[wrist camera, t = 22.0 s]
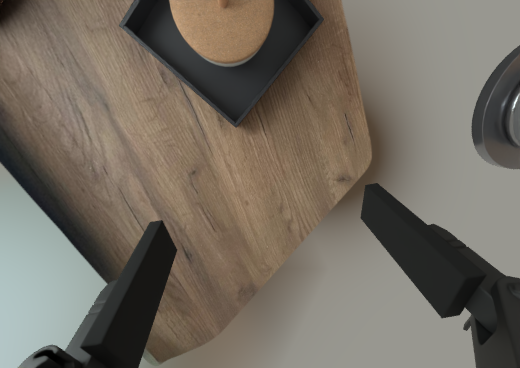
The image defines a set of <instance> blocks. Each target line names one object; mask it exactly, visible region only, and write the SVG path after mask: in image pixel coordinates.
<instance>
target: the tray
mask: <svg viewBox="0 0 520 368" xmlns="http://www.w3.org/2000/svg"><path fill="white" fill-rule="evenodd" d="M323 20H324V18H323V17H322V16H321V14H320V13H319V12H318V11H317V9H316V8H315V7H314V6H313V4H312V3H311V2H310V0H274V15H273V21H272V25H271V28H270V31H269V33H268V36H267V38H266V39H265V41H264V43H263V44H262V46H261V48H260V49H259V50H258V52H257V53H256V54H255V55H254V56H253V57H252V58H251V59H250V60H248V61H247V62H245V63H243V64H241V65H238V66H234V67H223V66H218V65H215V64H213V63H211V62H209V61H207V60H205V59H204V58H203V57H201V56H200V55H199V54H198V53H197V52H196V51H195V50H194V49H193V48H192V47H191V46H190V45H189V44H188V43H187V42H186V40H185V39H184V38H183V36H182V35H181V33H180V31H179V29H178V28H177V25H176V23H175V21H174V18H173V15H172V11H171V8H170V1H169V0H134V2H133V3H132V5H131V7H130V8H129V10H128V11H127V13H126V15H125V16H124V18H123V20H122V21H121V23H120V24H119V26H120V27H121V28H122V29H123V30H124V31H126V32H127V33H128V34H129V35H130V36H131V37H132V38H134V39H135V40H136V41H137V42H138V43H139V44H140V45H142V46H143V47H144V48H145V49H146V50H147V51H149V52H150V53H151V54H152V55H153V56H154V57H155V58H157V59H158V60H159V61H160V62H161V63H162V64H163V65H165V66H166V67H167V68H168V69H169V70H170V71H171V72H173V73H174V74H175V75H176V76H177V77H178V78H179V79H181V80H182V81H183V82H184V83H185V84H186V85H188V86H189V87H190V88H191V89H192V90H193V91H194V92H196V93H197V94H198V95H199V96H200V97H201V98H202V99H204V100H205V101H206V102H207V103H208V104H209V105H210V106H212V107H213V108H214V109H215V110H216V111H217V112H218V113H220V114H221V115H222V116H223V117H224V118H225V119H226V120H228V121H229V122H230V123H231V124H232V125H234V126H235V127H237V126H238V125H239V123H240V122H241V121H242V120H243V119H244V117H245V116H246V115H247V114H248V112H249V111H250V110H251V109H252V108H253V106H254V105H255V104H256V103H257V101H258V100H259V99H260V98H261V96H262V95H263V94H264V93H265V92H266V90H267V89H268V88H269V87H270V85H271V84H272V83H273V82H274V81H275V79H276V78H277V77H278V76H279V74H280V73H281V72H282V71H283V69H284V68H285V67H286V66H287V65H288V63H289V62H290V61H291V60H292V58H293V57H294V56H295V55H296V54H297V52H298V51H299V50H300V49H301V47H302V46H303V45H304V44H305V43H306V41H307V40H308V39H309V38H310V36H311V35H312V34H313V33H314V31H315V30H316V29H317V28H318V27H319V25H320V24H321V23H322V22H323Z"/></svg>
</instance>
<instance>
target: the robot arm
mask: <svg viewBox="0 0 520 368" xmlns="http://www.w3.org/2000/svg"><path fill="white" fill-rule="evenodd" d="M504 130H505V134H506V137H507V139H508V140H509V142H510V143H511V144H513V145H514V146H516V147H518V148H520V83H519V85H518V86H517V88H516V89H515V91H514V93H513V94H512V96H511V98H510V100H509V103H508V105H507V108H506V112H505V117H504ZM361 219H362V220H363V222H364V223H365V224H366V225H367V227H368V228H369V229H370V230H371V232H372V233H373V234H374V235H375V236H376V238H377V239H378V240H379V241H380V242H381V244H382V245H383V246H384V247H385V248H386V250H387V251H388V252H389V254H390V255H391V256H392V257H393V259H394V260H395V261H396V262H397V263H398V265H399V266H400V267H401V268H402V270H403V271H404V272H405V273H406V275H407V276H408V277H409V278H410V279H411V281H412V282H413V283H414V284H415V286H416V287H417V288H418V289H419V291H420V292H421V293H422V294H423V296H424V297H425V298H426V299H427V300H428V302H429V303H430V304H431V305H432V306H433V308H434V309H435V310H436V312H437V313H438V314H439V315H440V316H441V318H446V317H452V316H457V315H460V314H461V312H462V311H463V309H464V308H466V309H467V310H468V311H469V312H470V313H471V314H472V315H471V316H470V318H469V319H468V320H467V322H466V323H465V324H464V328H463V329H464V330H466V331H467V330H468V329H469V327H470V326H471V331H472V339H473V346H474V353H475V362H476V368H520V279H519V278H515V277H510V276H505V275H504V274H502V273H501V272H499V271H498V270H497V269H496V268H494V267H493V266H492V265H491V264H489V263H488V262H487V261H485V260H484V259H483V258H481V257H480V256H479V255H478V254H477V253H475V252H474V251H473V250H471V249H470V248H469V247H466V245H465V244H464V243H462V242H461V241H460V240H457V238H456V237H455V236H453V235H452V234H451V233H450V232H448V231H447V230H445V229H443V228H441V227H439V226H437V225H435V224H431V225H427V224H426V223H424V222H423V221H422V220H421V219H420V218H418V217H417V216H416V215H415V214H414V213H412V212H411V211H410V210H409V209H408V208H406V207H405V206H404V205H403V204H402V203H400V202H399V201H398V200H397V199H395V198H394V197H393V196H392V195H391V194H390V193H388V192H387V191H386V190H385V189H384V188H382V187H381V186H380V185H379V184H378V183H375V184H370V185H365V192H364V199H363V205H362V212H361ZM176 252H177V249H176V247H175V245H174V243H173V241H172V239H171V237H170V235H169V233H168V231H167V229H166V227H165V225H164V223H163V221H162V220H161V221H155V222H150V223H149V225H148V227H147V229H146V230H145V232H144V234H143V236H142V238H141V239H140V241H139V243H138V245H137V246H136V248H135V250H134V252H133V253H132V255H131V257H130V259H129V261H128V262H127V264H126V266H125V268H124V269H123V271H122V273H121V275H120V276H119V278H118V280H115V281H111V282H110V283H109V284H108V285H107V286H106V287H105V288H104V289H103V290H102V291H101V292H100V294H99V296H98V298H97V299H96V301H95V302H94V305H92V307H91V309H90V310H89V314H88V315H86V317H85V319H84V320H83V322H82V324H81V325H80V327H79V328H78V330H77V332H76V334H75V335H74V337H73V338H72V340H71V342H70V343H69V345H68V347H67V348H66V350H65V351H63V350H62V349H61V348H59V347H57V346H55V345H49V346H46V347H43V348H41V349H39V350H38V351H36V352H34V353H33V354H32V355H31V356H29V357H28V358H27V359H26V360H25V361H24V362H23V363H22V364H21V365H20V366H19V367H18V368H138V367H139V364H140V361H141V358H142V355H143V352H144V349H145V346H146V343H147V340H148V337H149V334H150V331H151V328H152V325H153V322H154V319H155V316H156V313H157V310H158V307H159V304H160V301H161V298H162V295H163V292H164V289H165V286H166V283H167V280H168V277H169V273H170V270H171V267H172V264H173V261H174V258H175V255H176Z"/></svg>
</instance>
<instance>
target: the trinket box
mask: <svg viewBox="0 0 520 368" xmlns="http://www.w3.org/2000/svg"><path fill="white" fill-rule="evenodd" d="M169 1H170V8H171V11H172V15H173V18H174V21H175V23H176V25H177V28H178V29H179V31H180V33H181V35H182V36H183V38H184V39H185V40H186V42H187V43H188V44H189V45H190V46H191V47H192V48H193V49H194V50H195V51H196V52H197V53H198V54H199V55H200V56H201V57H203V58H204V59H205V60H207V61H209V62H211V63H213V64H215V65H218V66H223V67H234V66H238V65H241V64H243V63H245V62H247V61H248V60H250V59H251V58H252V57H253V56H254V55H255V54H256V53H257V52H258V50H259V49H260V48H261V46H262V44H263V43H264V41H265V39H266V38H267V36H268V33H269V31H270V28H271V25H272V21H273V15H274V0H169Z"/></svg>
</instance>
